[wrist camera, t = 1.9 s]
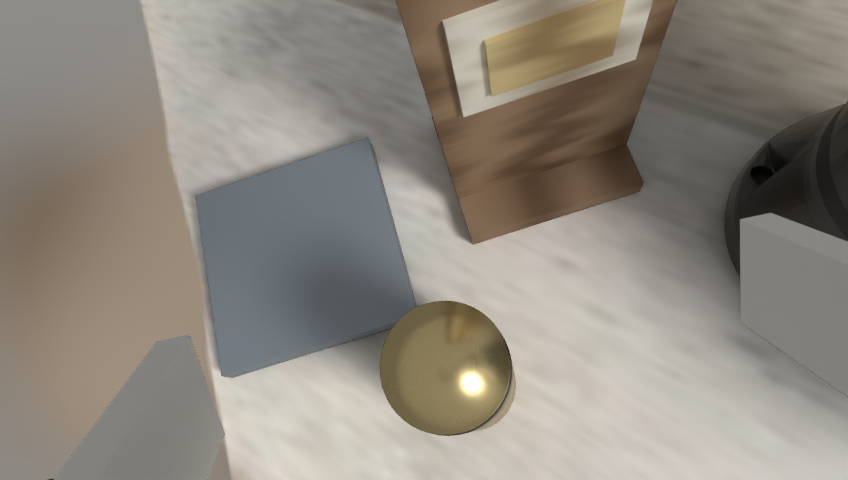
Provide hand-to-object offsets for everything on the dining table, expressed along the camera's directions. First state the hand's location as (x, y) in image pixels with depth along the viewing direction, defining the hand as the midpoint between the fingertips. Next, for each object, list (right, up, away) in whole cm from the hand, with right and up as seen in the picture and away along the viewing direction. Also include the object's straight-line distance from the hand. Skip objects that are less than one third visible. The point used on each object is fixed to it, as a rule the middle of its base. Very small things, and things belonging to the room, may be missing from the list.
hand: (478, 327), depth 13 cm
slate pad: (-10, +1, +28) cm, 30 cm away
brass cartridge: (+2, -7, +24) cm, 25 cm away
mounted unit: (+7, +8, +28) cm, 30 cm away
